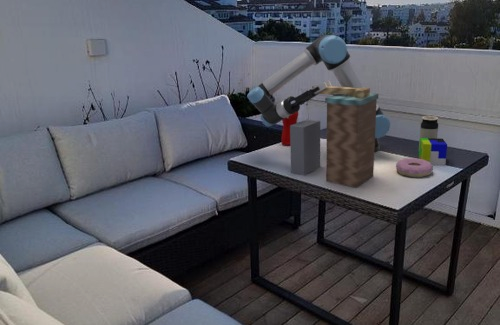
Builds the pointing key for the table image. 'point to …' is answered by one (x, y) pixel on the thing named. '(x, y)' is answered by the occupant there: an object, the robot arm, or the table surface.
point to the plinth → (305, 146)
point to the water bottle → (288, 128)
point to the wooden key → (346, 91)
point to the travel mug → (429, 127)
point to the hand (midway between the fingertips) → (327, 83)
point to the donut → (414, 167)
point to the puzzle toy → (433, 150)
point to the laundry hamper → (350, 138)
